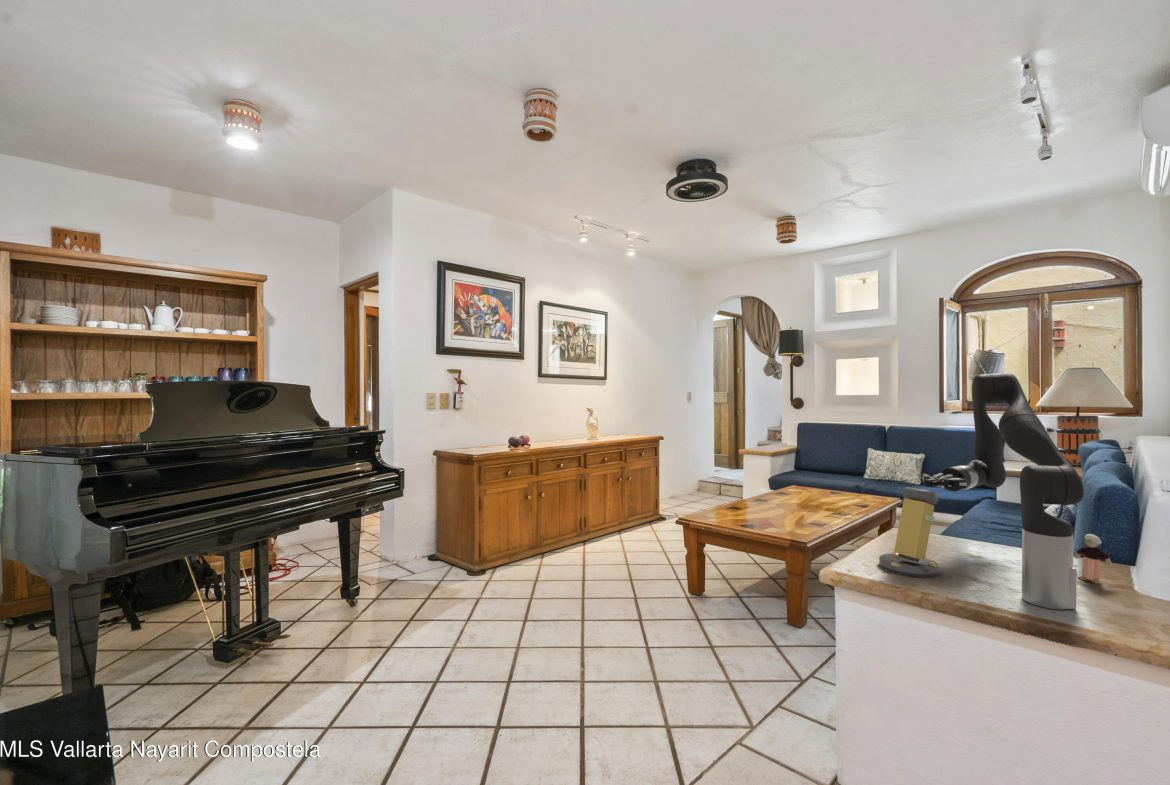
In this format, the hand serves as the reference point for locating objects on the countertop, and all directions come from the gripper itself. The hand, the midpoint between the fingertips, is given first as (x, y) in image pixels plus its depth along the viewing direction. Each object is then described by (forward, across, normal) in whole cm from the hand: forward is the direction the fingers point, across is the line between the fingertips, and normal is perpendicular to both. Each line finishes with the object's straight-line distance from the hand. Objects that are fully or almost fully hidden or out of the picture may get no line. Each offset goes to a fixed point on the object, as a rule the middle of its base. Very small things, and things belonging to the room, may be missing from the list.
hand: (927, 483), depth 157 cm
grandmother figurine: (-23, +30, +24) cm, 45 cm away
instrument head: (+10, 0, +20) cm, 22 cm away
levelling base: (+10, 0, +24) cm, 26 cm away
